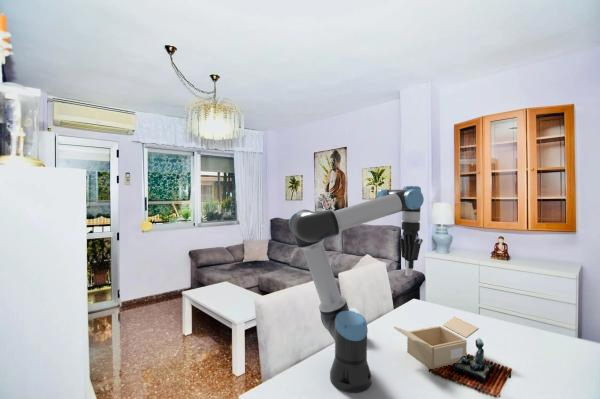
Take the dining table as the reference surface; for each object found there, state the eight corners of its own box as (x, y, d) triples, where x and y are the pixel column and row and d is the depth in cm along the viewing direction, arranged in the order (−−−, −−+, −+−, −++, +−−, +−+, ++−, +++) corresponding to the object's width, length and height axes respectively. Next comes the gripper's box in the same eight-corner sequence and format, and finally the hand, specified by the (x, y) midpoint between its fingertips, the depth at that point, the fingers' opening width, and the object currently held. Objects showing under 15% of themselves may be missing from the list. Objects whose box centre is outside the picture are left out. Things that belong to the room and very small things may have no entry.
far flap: (466, 337, 124) (478, 327, 126) (442, 324, 136) (454, 316, 138) (466, 338, 124) (478, 329, 126) (443, 325, 136) (454, 317, 138)
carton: (433, 371, 116) (433, 348, 116) (406, 351, 131) (406, 331, 131) (467, 363, 122) (468, 341, 122) (438, 344, 137) (438, 325, 137)
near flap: (428, 346, 118) (413, 341, 115) (406, 332, 129) (393, 327, 127) (428, 344, 118) (414, 339, 115) (407, 331, 129) (394, 326, 127)
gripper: (428, 222, 126) (426, 278, 126) (408, 220, 138) (406, 271, 138) (413, 222, 123) (411, 279, 123) (394, 220, 135) (392, 272, 136)
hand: (408, 275), depth 131 cm, fingers closed
